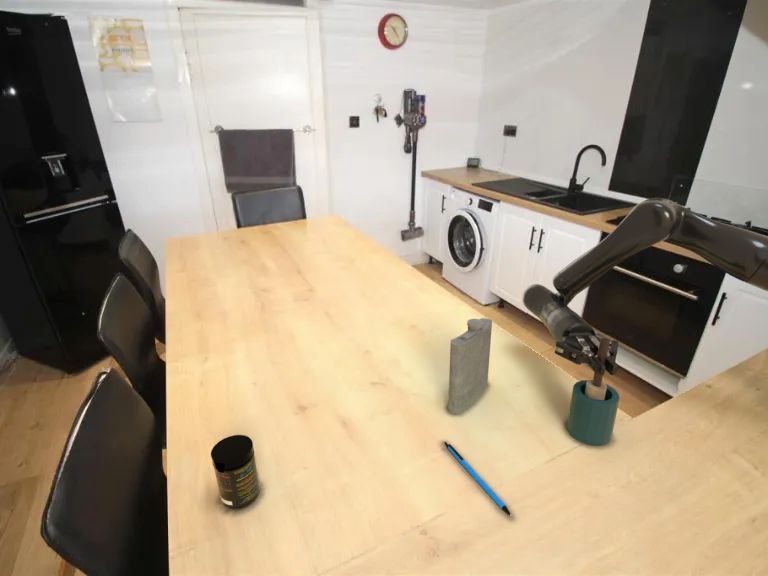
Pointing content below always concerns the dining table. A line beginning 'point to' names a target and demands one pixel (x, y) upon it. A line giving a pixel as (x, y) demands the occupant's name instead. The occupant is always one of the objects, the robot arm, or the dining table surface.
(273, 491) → the dining table surface
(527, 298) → the robot arm
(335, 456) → the dining table surface
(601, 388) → the brush
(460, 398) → the hip flask
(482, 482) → the pen
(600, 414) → the teal pen holder
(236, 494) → the supplement container
